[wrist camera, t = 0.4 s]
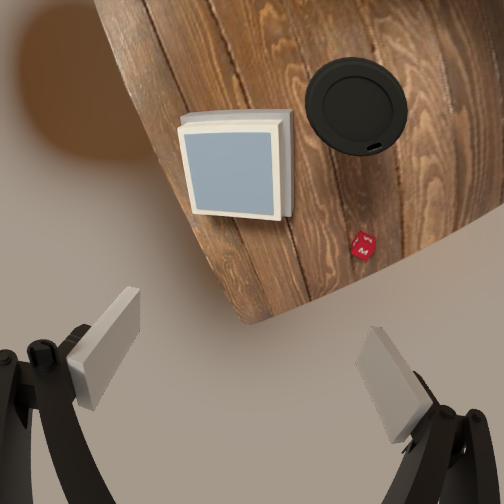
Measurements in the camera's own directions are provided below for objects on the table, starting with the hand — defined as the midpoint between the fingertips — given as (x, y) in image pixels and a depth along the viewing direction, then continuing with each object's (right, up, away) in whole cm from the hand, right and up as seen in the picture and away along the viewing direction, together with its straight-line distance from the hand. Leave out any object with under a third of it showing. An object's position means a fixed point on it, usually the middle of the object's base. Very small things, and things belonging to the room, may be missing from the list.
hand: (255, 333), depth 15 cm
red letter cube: (+19, +6, +31) cm, 37 cm away
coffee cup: (+13, +26, +18) cm, 34 cm away
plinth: (-2, +19, +28) cm, 34 cm away
